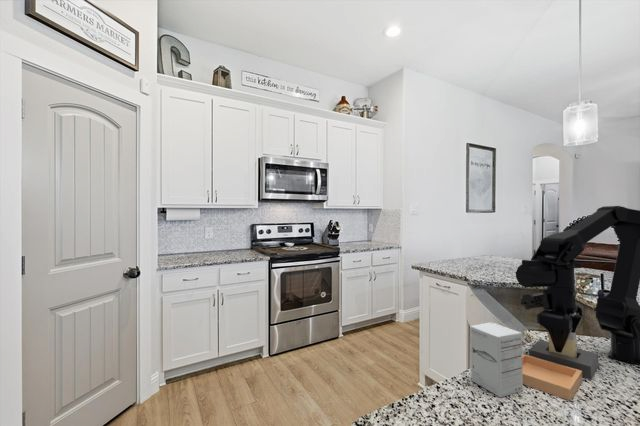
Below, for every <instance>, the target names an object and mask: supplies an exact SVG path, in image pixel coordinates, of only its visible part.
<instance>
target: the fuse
mask: <svg viewBox="0 0 640 426" xmlns="http://www.w3.org/2000/svg"><path fill="white" fill-rule="evenodd" d="M547 332H548V331H547ZM548 342H549V351H551V352H554V353H558V354H562V355H566V356H570V357H573V358H577V349H578V346H577V333H576V332H575V333H572V332H571V333H570V335H569V337H568V339H567V341H566V344H565V346H564V348H563V350H562V352H561V353H559V352H556V351H555V348H554V345H553V342H552V340H551V337H550V334H549V332H548Z"/></svg>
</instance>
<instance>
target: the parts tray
mask: <svg viewBox="0 0 640 426" xmlns="http://www.w3.org/2000/svg"><path fill="white" fill-rule="evenodd" d="M522 371H523V386H524V385H525V386H527V387H530V388H533V389H536V390H538V391H541V392H543V393H547V394H549V395H552V396H555V397H558V398H561V399H564V400H567V401H570V402H571V401H572V400H573V398H574V396H575V394H576V393H577V391H578V389H579V388H580V386H581V384H582V383H583V377H582V371H581V370H578V369H574V368H571V367H567V366H564V365H560V364H557V363H553V362H550V361H546V360H543V359H539V358H536V357H532V356H529V354H525V353H522Z"/></svg>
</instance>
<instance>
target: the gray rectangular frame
mask: <svg viewBox="0 0 640 426" xmlns="http://www.w3.org/2000/svg"><path fill="white" fill-rule="evenodd" d="M528 355H529V356H532V357H536V358H539V359H543V360H546V361H550V362H553V363H557V364H560V365H564V366H567V367H571V368H574V369H578V370H581V371H582V378H585V379H588V380H591V381H592V379H593V378H594V376H595V374H596V372H597V371H598V369H599V366H600V365H599V362H600V361H599V353H596V352H592V351H588V350H585V349H584V350H583V349H579V348H577V358H573V357H570V356H566V355H562V354H558V353H554V352H551V351H549V340H543V339H539V340H538V341H536V342H535V343H534V345H532V346H531V347H530V348H529V349H528Z"/></svg>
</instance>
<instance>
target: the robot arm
mask: <svg viewBox="0 0 640 426" xmlns="http://www.w3.org/2000/svg"><path fill="white" fill-rule="evenodd" d="M611 227H614V234H615V235H616V237H617V239H618V240H619V246H618V252H617V255H616V261H615V265H614V270H613V276H612V280H611V283H610V284H611V285H610V289H609V292H608V293H607V294H606V295H605V296H598V297H597V299H596V306H595V308H594V309H593V310H594V312H595V318H596V319H597V321H598V325H599V328H600V330H602V331H607V332H610V333H609V334H610V335H609V336H610V349H609V351H608V353H607V358H610V359H615V360H618V361H622V362H626V363H629V364H635V365H638V366H640V304H639V302H638V300H637V299H638V298H637V296H638V292H639V286H640V210H638V209H633V208H628V207H625V206H622V205H608V206H601V207H598V208H597V209H596V211H595V212H593V213H592V214H590V215H588V216H587V217H585V218H584V219H582V220H581V221H580V222H578V223H576V224H575V225H572V226H571V228H570V227H569V228H568V229H567V230H564V231H560V232H555V233H553V234H550V235H548V236H545V237H543V238H542V239H541V240H540V244H539V246H538V248H537V249H536V250H535V252H534V254H533V256H532V257H531V258H530V259H522V260H521V264H520V265H519V266H518V267H517V269H516V271H515V278H516V281H517V282H518V284H519V285H520V286H522V287H524V288H542V287H546V288H544V289H543V290H542V292H538V293H531V292H529V293H524V294H522V295H521V297H520V305H523V307H524V309H525V310H531V309H535V308H537V309H538V308H542V309H543V310H542V311H541V312H539V313H538V314H536V323H537V324H539V325H540V326H541V327H543V328H544V329H546V331H547V332H549V333H548V335H549V334H550V337H551V340H552V342H553V345H554V348H555V351H556V352H559V353H561V352H562V350H563V348H564V346H565V344H566V341H567V339H568V337H569V335H570V333H571V332H572V333H576V331H577V329H578V327H579V325H580V324H581V322H582V320H583V318H584V315H585V307H584V305H582V304H581V303H580V302H577V300H576V295H578V290H577V289H576V284H575V283H576V282H575V281H576V280H575V278H576V277H575V276H576V275H575V269H582V267H583V266H582V265H581V264H580V263H579V262H577V261H576V260H575V259H577V258H578V257H579V256H580V255H581V254H582V253H583V252H584V251H585V248H586V247H585V246H586V244H587V243H589V242H590V241H591V240H593V239H594V238H596V237H597V236H598V235H600V234H602V233H603V232H604V231H607V230H608V229H610V228H611ZM576 313H578V314H576Z"/></svg>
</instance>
